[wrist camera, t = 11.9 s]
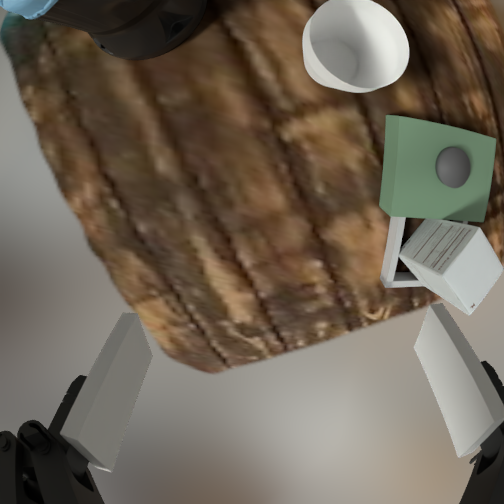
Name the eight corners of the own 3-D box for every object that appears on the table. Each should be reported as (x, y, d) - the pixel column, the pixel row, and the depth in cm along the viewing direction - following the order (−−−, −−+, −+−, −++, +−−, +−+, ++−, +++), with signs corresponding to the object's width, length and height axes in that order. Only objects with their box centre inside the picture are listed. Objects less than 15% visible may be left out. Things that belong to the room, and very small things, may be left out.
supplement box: (452, 249, 37) (506, 270, 24) (422, 286, 38) (469, 319, 26) (426, 214, 36) (481, 225, 24) (394, 252, 37) (441, 277, 25)
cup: (375, 46, 27) (419, 23, 16) (355, 108, 31) (396, 108, 20) (304, 19, 26) (322, -20, 15) (284, 82, 30) (293, 66, 19)
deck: (386, 114, 31) (403, 116, 26) (479, 134, 30) (501, 140, 25) (367, 278, 41) (378, 299, 36) (452, 276, 40) (467, 293, 36)
